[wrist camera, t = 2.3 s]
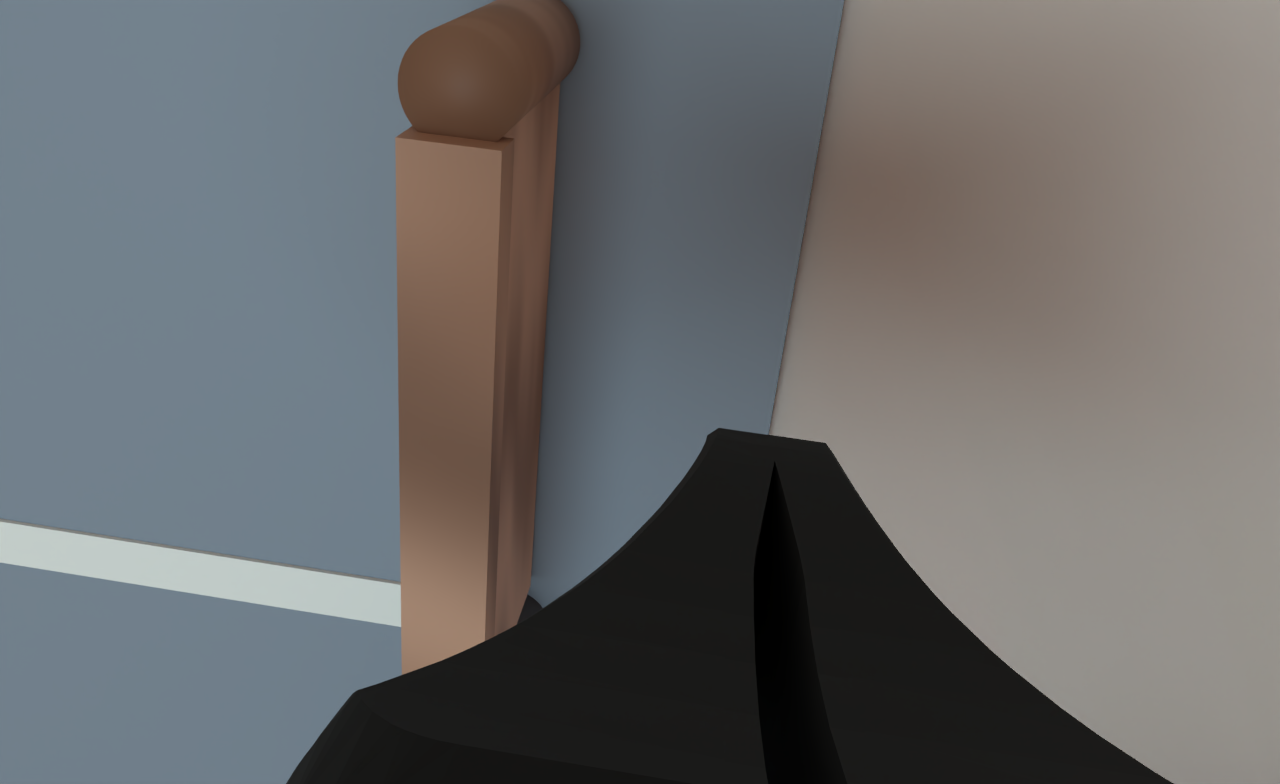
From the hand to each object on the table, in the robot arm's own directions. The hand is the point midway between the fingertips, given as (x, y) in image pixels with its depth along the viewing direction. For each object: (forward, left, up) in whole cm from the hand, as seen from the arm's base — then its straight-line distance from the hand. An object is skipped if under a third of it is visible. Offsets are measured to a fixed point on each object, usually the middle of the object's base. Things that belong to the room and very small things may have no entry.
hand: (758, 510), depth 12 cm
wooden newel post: (+4, +2, -8) cm, 9 cm away
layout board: (+9, +8, -8) cm, 15 cm away
